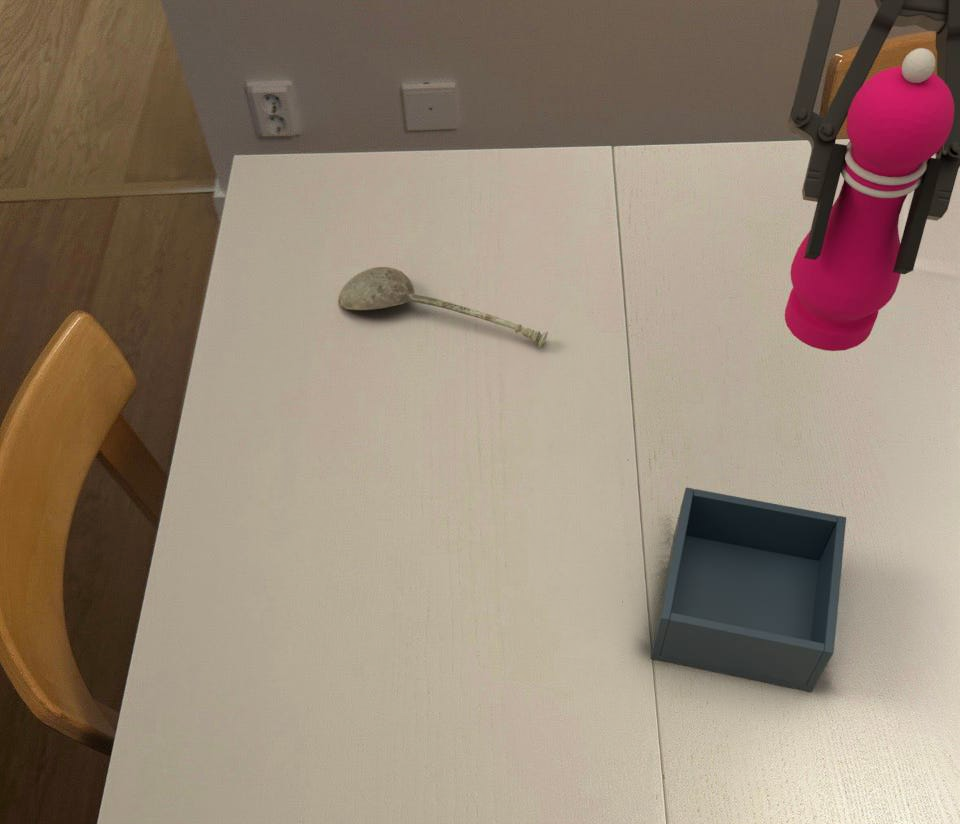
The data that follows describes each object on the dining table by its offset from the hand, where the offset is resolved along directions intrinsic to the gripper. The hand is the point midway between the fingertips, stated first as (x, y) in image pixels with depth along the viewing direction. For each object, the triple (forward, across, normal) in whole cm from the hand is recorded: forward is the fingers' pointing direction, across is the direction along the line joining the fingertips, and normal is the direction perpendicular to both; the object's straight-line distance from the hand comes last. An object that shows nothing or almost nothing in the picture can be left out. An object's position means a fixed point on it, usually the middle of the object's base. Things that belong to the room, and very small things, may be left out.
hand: (857, 263), depth 68 cm
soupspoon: (+8, +34, -33) cm, 48 cm away
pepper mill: (+3, 0, -9) cm, 9 cm away
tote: (+26, +1, -14) cm, 30 cm away
